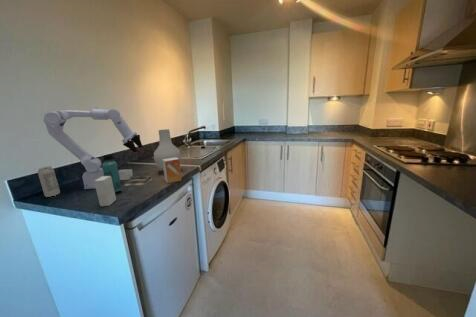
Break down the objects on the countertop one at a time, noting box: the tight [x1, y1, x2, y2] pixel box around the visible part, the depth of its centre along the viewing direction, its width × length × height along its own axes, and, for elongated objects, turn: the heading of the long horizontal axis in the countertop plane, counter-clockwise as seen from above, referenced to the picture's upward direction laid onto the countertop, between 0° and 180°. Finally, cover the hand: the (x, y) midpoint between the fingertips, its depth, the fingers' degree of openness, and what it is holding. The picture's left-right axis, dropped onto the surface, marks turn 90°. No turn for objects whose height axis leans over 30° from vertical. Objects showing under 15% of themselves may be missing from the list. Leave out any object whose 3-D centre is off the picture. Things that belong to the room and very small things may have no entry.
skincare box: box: [94, 176, 117, 207], centre depth 89 cm, size 6×4×12 cm
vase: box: [153, 129, 181, 171], centre depth 131 cm, size 17×16×28 cm
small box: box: [162, 157, 183, 184], centre depth 115 cm, size 8×6×13 cm
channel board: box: [123, 175, 153, 187], centre depth 116 cm, size 12×9×2 cm
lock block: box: [118, 168, 134, 181], centre depth 124 cm, size 7×4×6 cm, turn 91°
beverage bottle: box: [101, 153, 122, 193], centre depth 100 cm, size 6×7×20 cm
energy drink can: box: [37, 165, 61, 198], centre depth 101 cm, size 6×6×15 cm
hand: (138, 149), depth 119 cm, fingers open, 7 cm apart
